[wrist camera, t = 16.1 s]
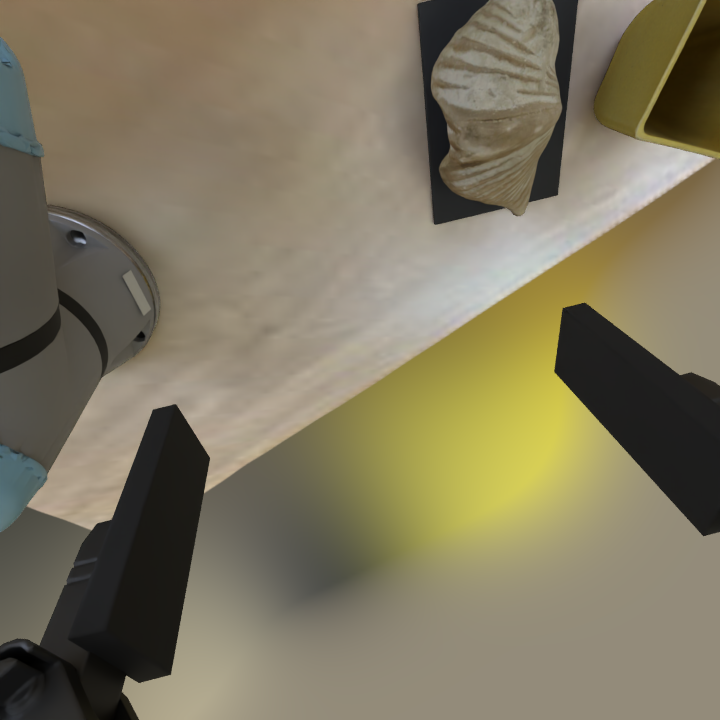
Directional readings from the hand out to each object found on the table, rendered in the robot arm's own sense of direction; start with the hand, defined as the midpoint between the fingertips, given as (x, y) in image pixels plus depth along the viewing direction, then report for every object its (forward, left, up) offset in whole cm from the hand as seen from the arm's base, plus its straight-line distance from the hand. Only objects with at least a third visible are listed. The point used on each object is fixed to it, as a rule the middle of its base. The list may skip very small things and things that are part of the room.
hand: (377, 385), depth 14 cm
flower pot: (+28, +3, -27) cm, 39 cm away
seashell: (+14, +3, -26) cm, 30 cm away
